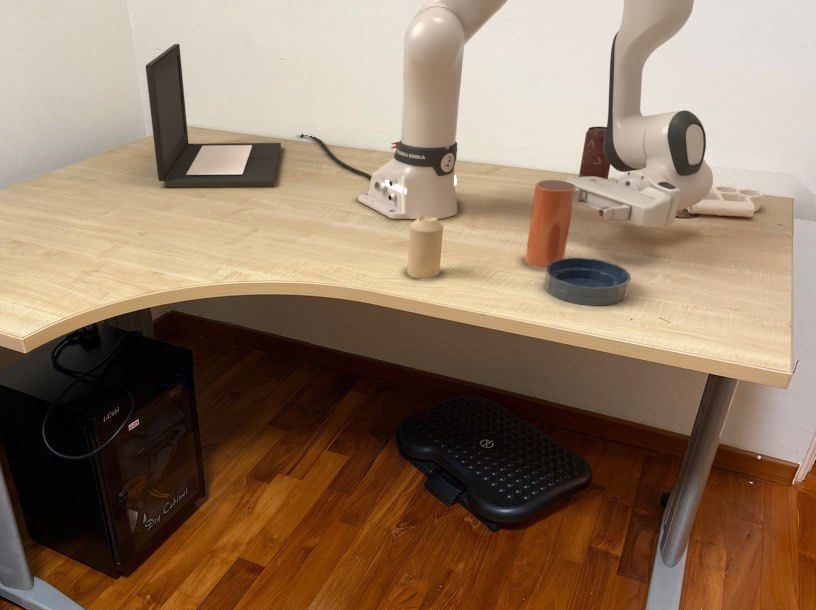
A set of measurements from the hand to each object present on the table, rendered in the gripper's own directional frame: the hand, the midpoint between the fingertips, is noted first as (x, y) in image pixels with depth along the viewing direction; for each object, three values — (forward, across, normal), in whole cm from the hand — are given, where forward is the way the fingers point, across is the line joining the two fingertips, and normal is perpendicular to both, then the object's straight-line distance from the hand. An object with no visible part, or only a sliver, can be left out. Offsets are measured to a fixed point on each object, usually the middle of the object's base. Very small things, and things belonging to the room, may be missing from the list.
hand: (581, 206), depth 133 cm
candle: (+28, -6, +9) cm, 31 cm away
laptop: (+32, -89, +9) cm, 95 cm away
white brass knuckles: (-46, -6, +10) cm, 47 cm away
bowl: (+10, +13, +9) cm, 18 cm away
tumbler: (+7, 0, +9) cm, 11 cm away
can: (-32, -27, +9) cm, 43 cm away
